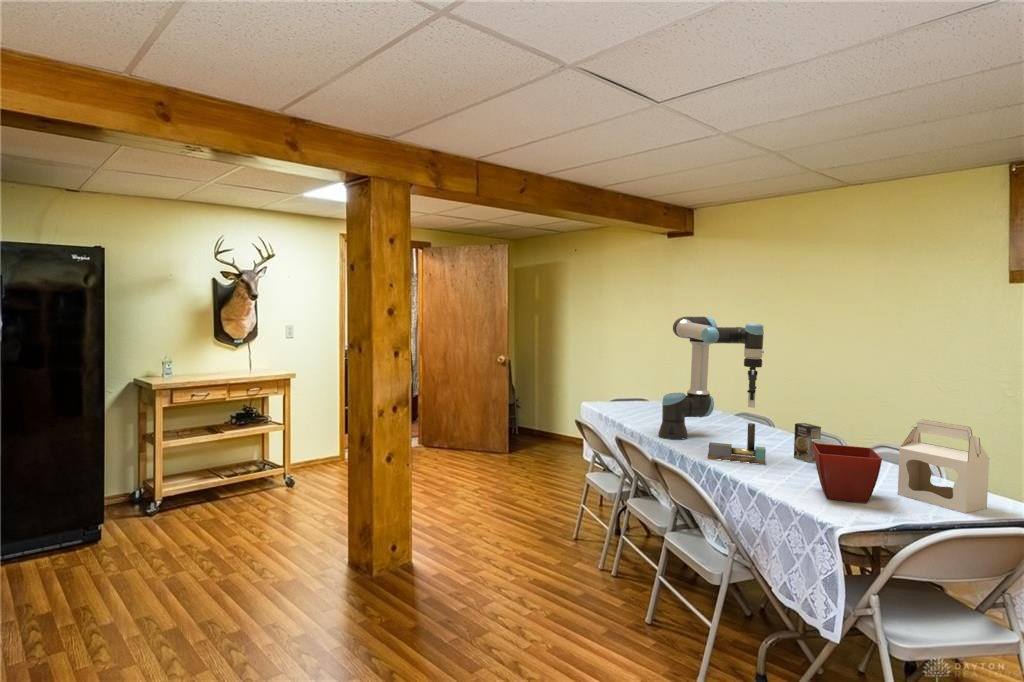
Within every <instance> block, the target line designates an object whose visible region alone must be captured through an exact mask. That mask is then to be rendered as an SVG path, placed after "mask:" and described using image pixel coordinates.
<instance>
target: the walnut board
mask: <svg viewBox="0 0 1024 682" xmlns="http://www.w3.org/2000/svg"><path fill="white" fill-rule="evenodd" d="M706 457H707V458H708V459H707V460H713V459H721V460H720V461H723V460H730V461H729V462H733V461H740V462H739V463H743V462H749V463H748V464H752V463H759V464H758V465H762V464H765V465H766V460H765V461H761V460H755V456H745V455H735V454H731V457H721V456H711V455H709V451H708V452H707V456H706Z"/></svg>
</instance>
